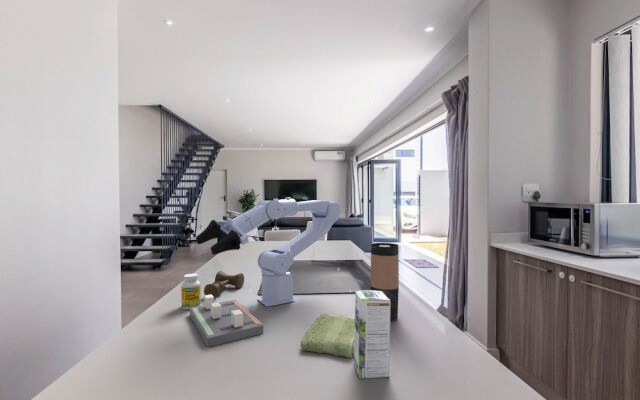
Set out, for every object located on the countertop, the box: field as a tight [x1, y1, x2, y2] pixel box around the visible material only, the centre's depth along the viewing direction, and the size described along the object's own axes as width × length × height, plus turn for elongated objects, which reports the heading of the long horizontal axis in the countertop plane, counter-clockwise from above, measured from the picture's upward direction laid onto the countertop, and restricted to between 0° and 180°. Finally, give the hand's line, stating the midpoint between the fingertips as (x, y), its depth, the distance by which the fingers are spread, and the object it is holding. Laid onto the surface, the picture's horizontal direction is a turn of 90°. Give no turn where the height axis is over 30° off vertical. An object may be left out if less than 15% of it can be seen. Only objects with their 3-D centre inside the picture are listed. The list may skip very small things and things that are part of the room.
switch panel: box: [189, 299, 264, 348], centre depth 80 cm, size 13×22×2 cm, turn 32°
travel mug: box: [370, 242, 400, 322], centre depth 85 cm, size 8×8×20 cm
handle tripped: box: [231, 310, 243, 328], centre depth 74 cm, size 2×3×3 cm, turn 32°
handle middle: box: [211, 302, 222, 319], centre depth 79 cm, size 2×3×3 cm, turn 32°
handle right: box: [203, 294, 215, 309], centre depth 86 cm, size 2×3×3 cm, turn 32°
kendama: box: [203, 270, 245, 299], centre depth 110 cm, size 6×10×20 cm
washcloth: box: [299, 313, 355, 359], centre depth 72 cm, size 13×18×3 cm
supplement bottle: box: [180, 273, 202, 310], centre depth 93 cm, size 5×5×10 cm
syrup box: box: [353, 289, 391, 379], centre depth 59 cm, size 6×6×14 cm
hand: (204, 246), depth 82 cm, fingers open, 7 cm apart
